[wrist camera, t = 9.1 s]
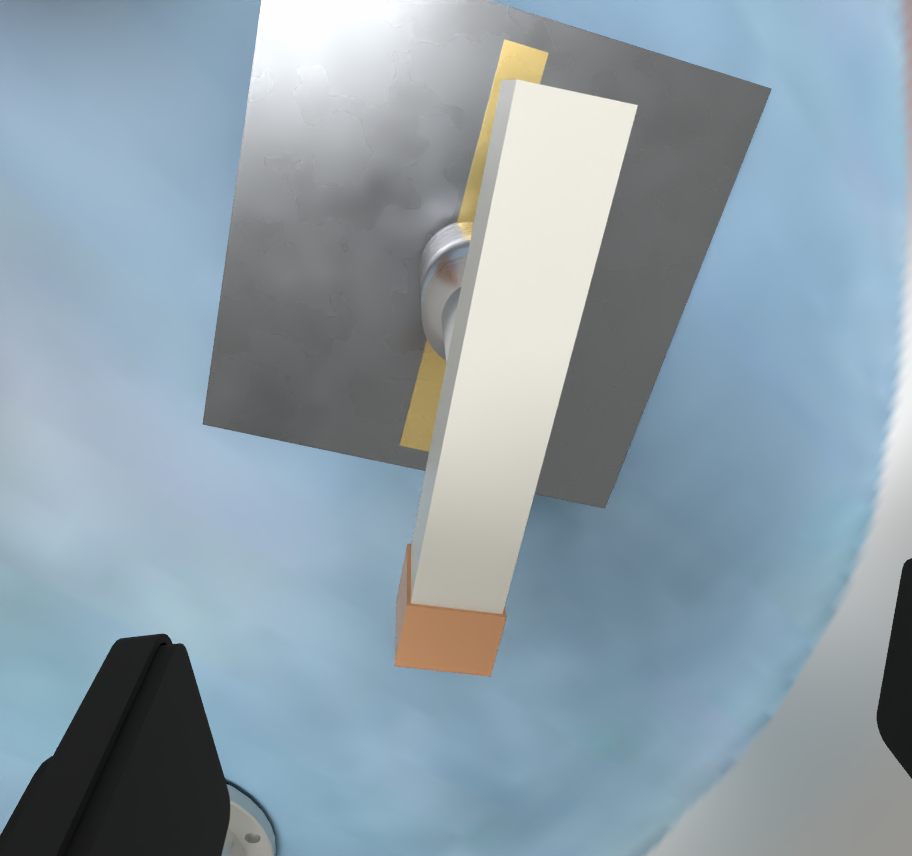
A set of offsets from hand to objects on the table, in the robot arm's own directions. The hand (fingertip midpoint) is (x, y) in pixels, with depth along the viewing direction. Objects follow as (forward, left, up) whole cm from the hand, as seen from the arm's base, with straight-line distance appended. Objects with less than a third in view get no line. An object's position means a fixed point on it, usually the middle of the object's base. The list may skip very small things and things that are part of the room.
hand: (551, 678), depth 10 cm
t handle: (0, 0, -15) cm, 15 cm away
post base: (+1, 0, -23) cm, 23 cm away
